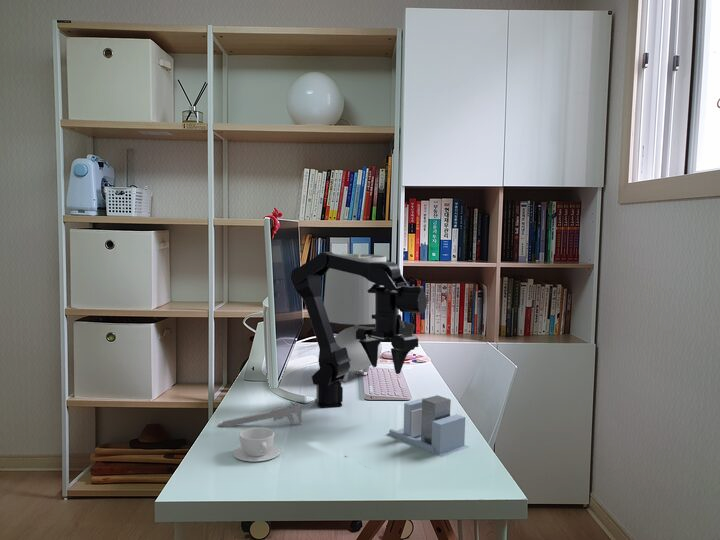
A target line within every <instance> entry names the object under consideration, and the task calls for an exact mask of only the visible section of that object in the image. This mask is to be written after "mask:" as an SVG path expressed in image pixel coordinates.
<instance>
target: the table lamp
mask: <svg viewBox="0 0 720 540" xmlns="http://www.w3.org/2000/svg"><path fill="white" fill-rule="evenodd" d="M336 254H337V255H342V256H346V257H351V258H355V259H359V260H364V261H368V262H387V256H385V255H380V254H366V253H365V254H364V253H363V254H362V253H361V254H360V253H344V254H343V253H340V254H339V253H336ZM373 284H375V283H373V282H371V281H369V280H367V279H366V278H365V277H363V276H360V275H356V274H352V273H348V272H344V271H340V270H336V269H332V268H329V270H328V271H327V272H326V273H325V283H324V285H325V286H324V297H323V304H324V307H325V310H326V313H327V316H328V319H329V322H330V323H333V324H341V325H353V326H350V327H347V328H344V329H343V330H341V331H340V332H338V333H337V334H336V335H334V337H335V340H336V343H337V344H338V345H339V347H340V348H344V347H346V349H347V353H348V356H349V358H350V360H351V361H350V362H349V363H350V368H349V371H348V372H347V373H346V374H345V377H344V379H343V380H341V381H342V382H346V383H347V381H348V378H349V373H350V372H353V374H354V375H359V372H360V371H362V373H363V374H364V372H370V367H371V366H372V364H371V362H370V360H369V358H368V356H367V354H366V352H365V350H364V348H363V346H362V345H361V343H359V339H356V331H357V330H358V328H365V327H366V325H375V319H372V315H373V314H375V293H368V292H367V291H368V290H369V289H370V288H371V287H372V286H373ZM380 286H381V285H380ZM381 287H384V286H381ZM363 325H365V326H363ZM382 349H383V348H382V341H381V342H380V344H379V346H378V359H377V361H378V360H379V359H380V357H381V355H382Z"/></svg>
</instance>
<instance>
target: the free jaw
mask: <svg viewBox="0 0 720 540" xmlns="http://www.w3.org/2000/svg"><path fill="white" fill-rule="evenodd" d="M422 399H425V397H423V398H418V399H414V400H411V401H406V402H404V403H403V429H404V434H405V435H408V436H410V437H413V438H416V437H419V436H421V421H422Z"/></svg>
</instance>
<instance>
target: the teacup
mask: <svg viewBox="0 0 720 540" xmlns="http://www.w3.org/2000/svg"><path fill="white" fill-rule="evenodd" d="M274 439H275V431H274V430H273V429H272V428H268V427H262V426H261V427H249V428H246V429H244V430H242V431H241V432H239V440H240V447H237V448H236V449H235V450H234V451H233V456H234V457H235V458H236V459H238V460H240V461H245V462H264V461H269V460H272V459H275V458H276V457H278V456H279V455H280V453H281V449H280V447H278V446H276V445H275V444H274V441H275V440H274Z"/></svg>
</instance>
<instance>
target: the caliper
mask: <svg viewBox="0 0 720 540" xmlns="http://www.w3.org/2000/svg"><path fill="white" fill-rule="evenodd" d="M293 414H296V417H297V422H298V425H299V426H300V425H302V409H301V406H300V404H297V400H294V402H292V401H290V405H287V406H282V407H278V408H277V407H276V408H272V409H271V411H266V412H260V413H256V414H250V415H245V416H239V417H236V418H235V417H234V418H229V419H226V420H225V419H224V420H222V422H220V423H218V424H217V426H216V427H217V428H219V427H223V428H224V427H234V426H239V425H244V424H248V423H253V422H259V421H265V420H269V419H273V421H277V420H282V419H283V418H285V417H286V418H287V419H288V421H289V423H290V424H291V426H294V425H295V422H294V417H293Z"/></svg>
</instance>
